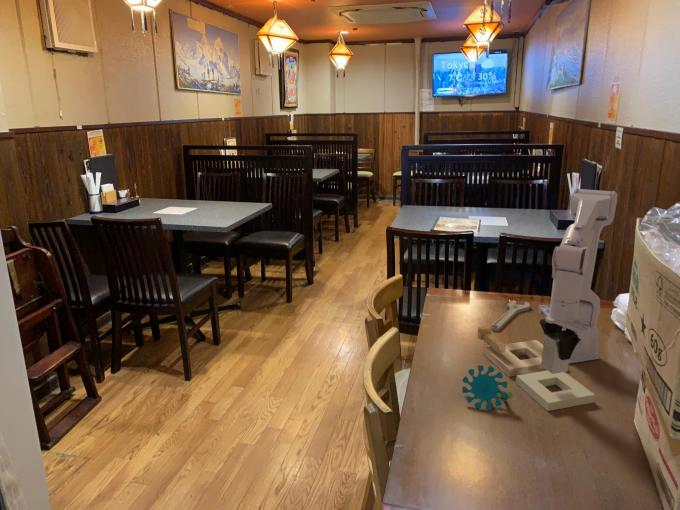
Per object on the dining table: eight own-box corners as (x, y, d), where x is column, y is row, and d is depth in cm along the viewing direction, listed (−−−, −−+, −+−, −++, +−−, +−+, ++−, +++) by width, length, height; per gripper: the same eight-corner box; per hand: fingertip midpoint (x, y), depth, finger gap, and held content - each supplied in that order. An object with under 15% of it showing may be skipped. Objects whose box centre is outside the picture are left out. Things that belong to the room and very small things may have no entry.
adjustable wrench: (497, 334, 148) (497, 328, 148) (477, 328, 152) (477, 322, 152) (532, 308, 166) (532, 303, 165) (513, 303, 170) (513, 298, 169)
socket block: (535, 346, 139) (536, 339, 139) (564, 367, 128) (565, 360, 127) (483, 354, 135) (483, 347, 135) (508, 376, 124) (509, 369, 124)
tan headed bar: (487, 335, 138) (488, 326, 137) (507, 351, 129) (508, 341, 129) (477, 337, 138) (478, 327, 137) (496, 353, 129) (497, 342, 128)
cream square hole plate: (558, 375, 124) (559, 368, 124) (593, 402, 113) (594, 394, 113) (515, 382, 121) (516, 375, 121) (547, 410, 110) (548, 403, 110)
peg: (556, 362, 118) (559, 331, 115) (567, 371, 114) (571, 339, 112) (541, 365, 117) (544, 334, 114) (552, 374, 113) (556, 341, 111)
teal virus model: (454, 398, 113) (470, 357, 116) (457, 404, 118) (472, 365, 121) (504, 418, 108) (519, 375, 111) (504, 423, 113) (518, 382, 116)
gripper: (529, 289, 116) (523, 342, 120) (572, 313, 103) (564, 372, 107) (555, 286, 118) (549, 338, 122) (601, 309, 104) (592, 367, 108)
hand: (558, 354), depth 114 cm, fingers closed on peg, 4 cm apart
